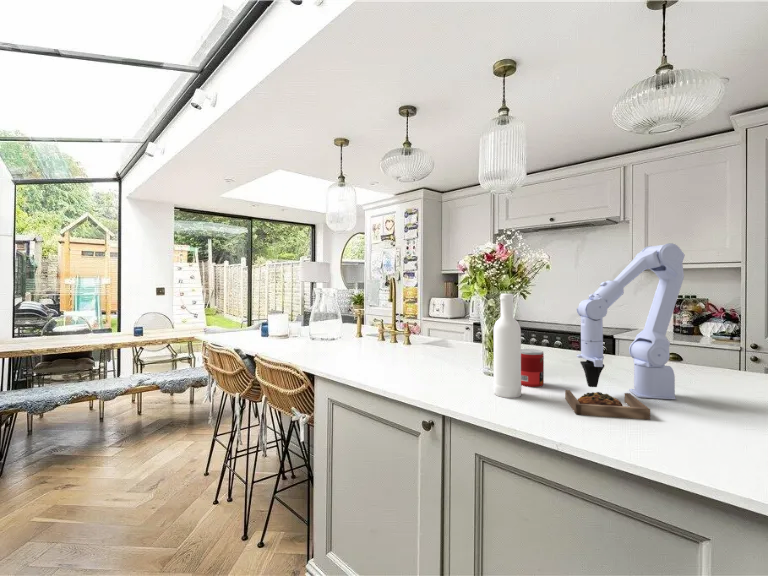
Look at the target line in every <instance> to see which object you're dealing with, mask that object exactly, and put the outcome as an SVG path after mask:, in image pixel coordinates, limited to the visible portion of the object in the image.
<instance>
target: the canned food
mask: <svg viewBox="0 0 768 576" xmlns="http://www.w3.org/2000/svg"><path fill="white" fill-rule="evenodd" d="M544 359H545V358H544V351H543V350H541V349H534V348H521V386H522V385H523V386H522V387H527V386H528V387H529V388H540V386H541V387H543V385H544V383H545V381H544V376H545V375H544V374H545V373H544V371H545V369H544V368H545V367H544V365H545V364H544V363H545V361H544Z"/></svg>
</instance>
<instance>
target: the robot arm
mask: <svg viewBox="0 0 768 576" xmlns="http://www.w3.org/2000/svg"><path fill="white" fill-rule="evenodd" d="M684 258H685V253H684V251H683V250H682V249H681V248H680V247H679V246H678V244H676V243H673V242H672V243H665V244H660V245H659V244H658V245H648V246H645V247H644V248H643V249H642V250H641V251H640V252H638V253H636V254H635V257H634V258H633V259H632V260H631V261H630V262H629V264H627V265H626V267H624V268H623V269H622V271H621V272H620V273H619V274H618V275H617V276H616V277H615V278H614V279H613V280H609V279H608V280H606V281H602V282H601V283H599V287H598V288H597V289H596V290H595V291H594V292H592V293H589V295H588V298H587V299H583V300H581V301H580V302H579V304H578V307H577V308H576V313H577V315H578V316H579V318H580V354H576V358H578V359H583V360H585V361H583V360H582V361H580V365H581V367H582V369H583V372H584V374H585V375H584V376H585V378H586V379H585V380H586V385H587V386H588V387H589V388H597V387H598V385H599V380H600V377H601V373H602V371H603V369H605V364H604V358H605V355H604V325H603V321H604V318H605V317H606V316H607V314H608V309H609V308H610V307H611V306H612V305H613V304H614V303H616V301H617V300H619V299H620V298H621V297H622V296H623V295H624V291H625V288H626V287H627V285H628V284H630V283H631V282H633V281H634V280H635V279H636V278H637V277H638V276H640V275H641V274H642V273H643V272H644V271H645V270H650V271H651V272H653V273H654V274H655V276H656V277H657V278H658V283H657V287H656V289H655V292H654V295H653V299H652V302H651V305H650V309H649V312H648V314H647V318H646V320H645V324H644V327H643V329H642V330H641V331H640V332H639V333H637V334H636V335H635V338H634V340H633V341H632V342H631V344H629V348H628V353H629V355H630V357H631V358H632V359H633V368H634V369H633V388H629V389H628V391H629V392H630V393H632V395H635V396H636V397H637V398H641V399H642V398H643V399H659V400H663V399H664V400H676V399H677V398H676V397H675V395H676V394H675V392H676V391H675V389H676V387H675V386H676V382H675V381H676V379H675V377H676V376H675V372H674V368H673V367H672V366H670V365H666V364H668V362H669V360H670V355H671V354H670V345H671V342H670V341H669V338H668V337H667V336H666V335H667V331H668V328H669V325H670V322H671V319H672V317H673V313H674V310H675V306H676V303H677V300H678V297H679V294H680V290H681V287H682V285H683V281H684V278H685V275H684V274H685V272H684V265H683V261H684V260H685V259H684Z"/></svg>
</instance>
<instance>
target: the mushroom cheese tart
mask: <svg viewBox="0 0 768 576" xmlns="http://www.w3.org/2000/svg"><path fill="white" fill-rule="evenodd" d="M577 400H578V401H579V403H580V404H595V405H611V406H624V405H623V403H622V402H621V400H619V399H617V398H616V397H614V396H612V395H610V394H609V393H603V392H600V391H597V392H594V391H591V392H586V393H584V394H583V395H581V396H580V397H579V398H577Z"/></svg>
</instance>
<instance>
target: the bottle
mask: <svg viewBox="0 0 768 576" xmlns="http://www.w3.org/2000/svg"><path fill="white" fill-rule="evenodd" d="M514 300H515V298H514V294H513V293H501V294H500V298H499V301H500V317H499V318H498V319H497V320H496V321H495V323H494V325H493V395H495V396H497V397H499V398H500V397H501V398H504V399H506V398H507V399H515V398H519V397H521V396H522V385H521V349H522V342H521V341H522V331H521V330H522V329H521V326H520V323H519V322H518V321H517V319H516V318H515V317H514Z"/></svg>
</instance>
